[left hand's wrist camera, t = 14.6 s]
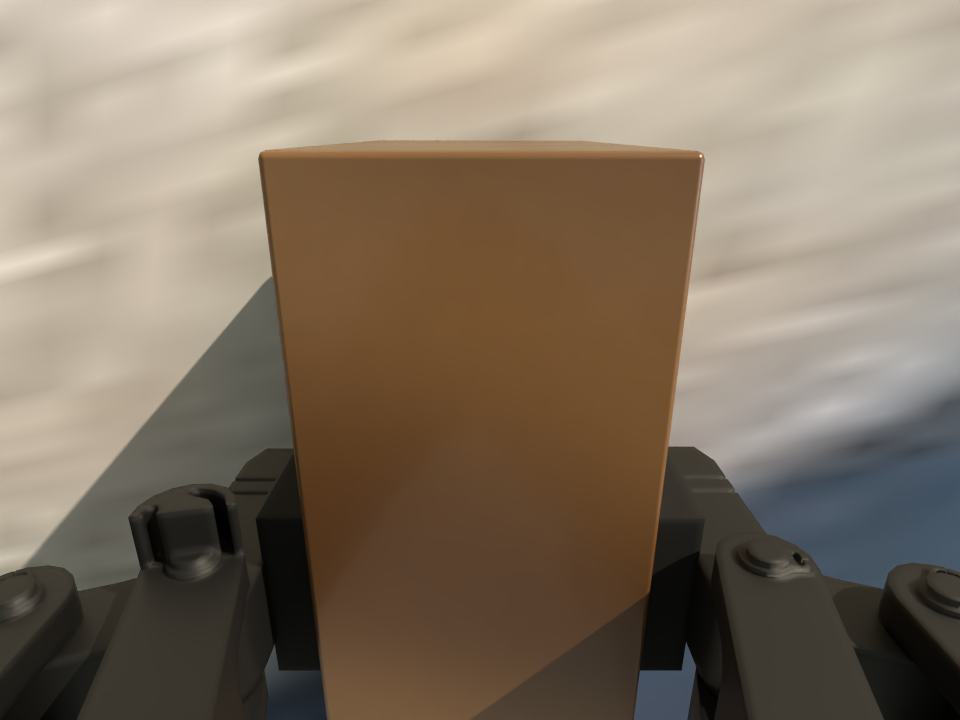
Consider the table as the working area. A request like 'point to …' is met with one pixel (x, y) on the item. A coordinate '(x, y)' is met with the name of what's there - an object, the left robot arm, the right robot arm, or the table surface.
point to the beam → (480, 413)
